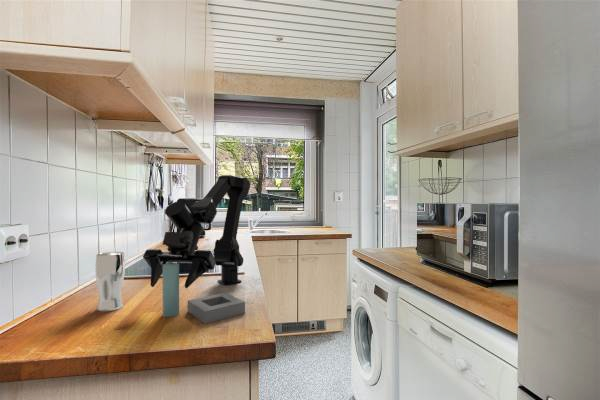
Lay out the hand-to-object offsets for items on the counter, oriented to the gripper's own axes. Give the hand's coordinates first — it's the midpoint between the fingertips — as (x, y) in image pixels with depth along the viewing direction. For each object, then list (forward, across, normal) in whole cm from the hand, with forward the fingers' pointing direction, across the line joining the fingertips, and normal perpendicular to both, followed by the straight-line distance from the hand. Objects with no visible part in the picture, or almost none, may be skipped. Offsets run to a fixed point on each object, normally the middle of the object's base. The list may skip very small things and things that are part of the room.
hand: (168, 286), depth 82 cm
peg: (+4, 0, +6) cm, 8 cm away
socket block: (+3, +11, +8) cm, 14 cm away
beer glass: (+3, -19, +8) cm, 21 cm away
